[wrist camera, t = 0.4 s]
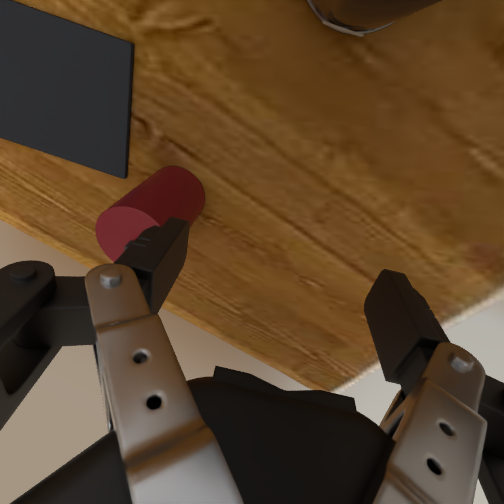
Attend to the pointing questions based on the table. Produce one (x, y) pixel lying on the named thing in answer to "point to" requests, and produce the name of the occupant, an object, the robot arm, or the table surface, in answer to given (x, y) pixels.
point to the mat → (65, 88)
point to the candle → (149, 208)
